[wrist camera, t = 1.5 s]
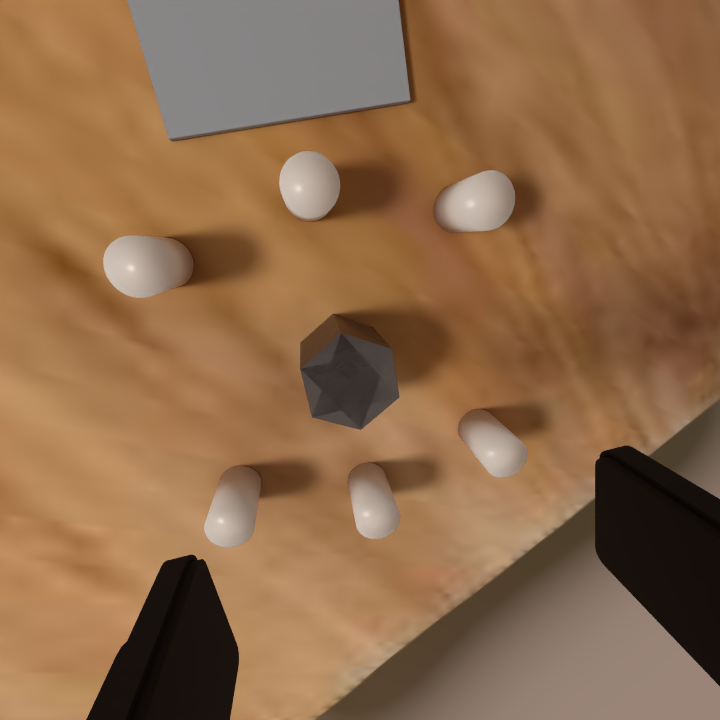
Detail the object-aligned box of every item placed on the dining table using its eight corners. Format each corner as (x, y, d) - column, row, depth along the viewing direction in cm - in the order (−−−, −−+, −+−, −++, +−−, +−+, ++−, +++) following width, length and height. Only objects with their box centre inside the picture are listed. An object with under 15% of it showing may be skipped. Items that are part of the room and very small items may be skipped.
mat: (99, -101, 16) (94, -109, 15) (380, -131, 17) (382, -140, 16) (171, 141, 19) (168, 139, 18) (408, 102, 20) (410, 100, 19)
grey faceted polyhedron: (295, 321, 22) (294, 342, 17) (369, 306, 22) (387, 322, 18) (314, 400, 24) (317, 440, 19) (382, 385, 24) (403, 419, 19)
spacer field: (119, 201, 19) (73, 190, 15) (472, 140, 21) (511, 116, 17) (234, 529, 25) (222, 579, 22) (497, 463, 27) (529, 499, 23)
